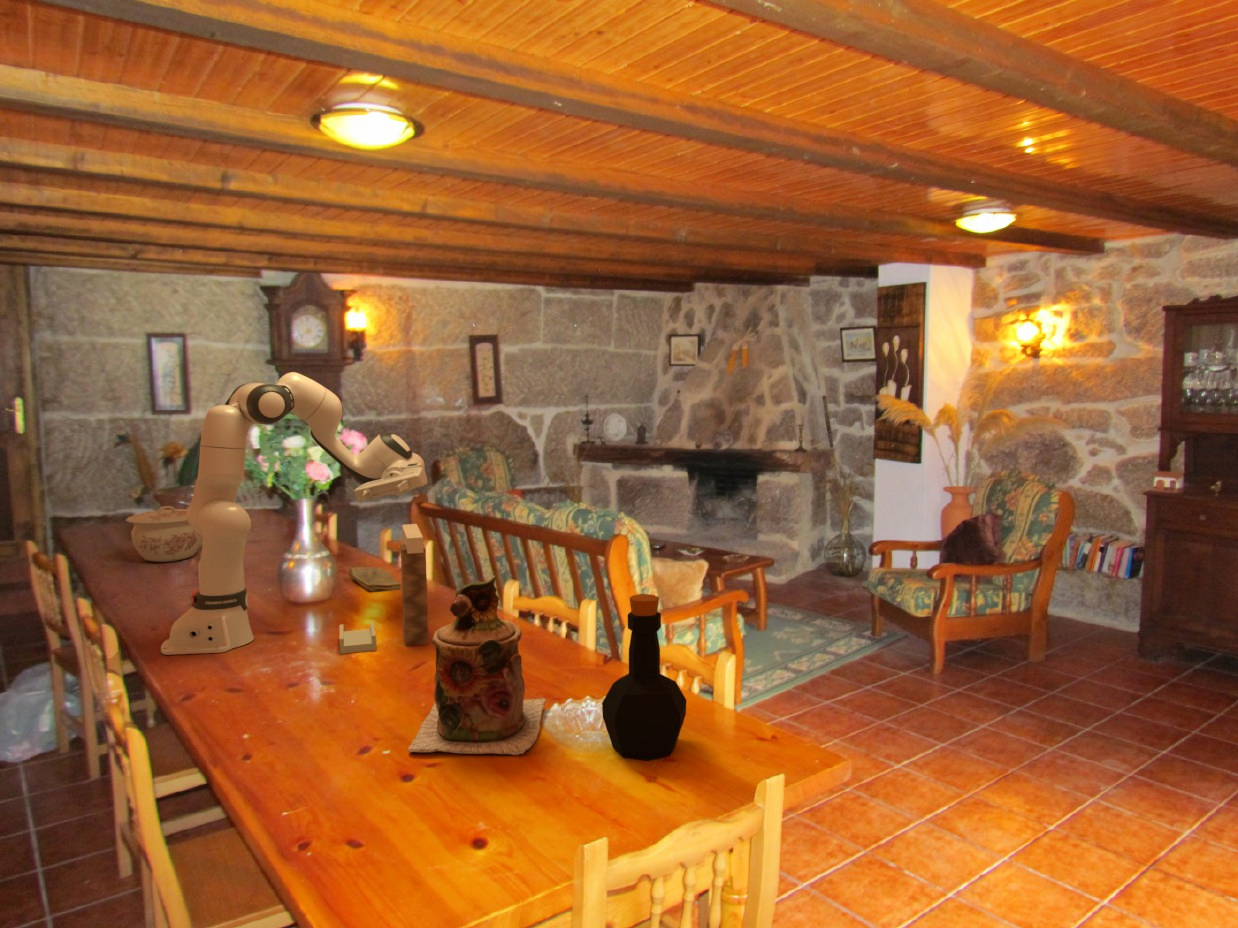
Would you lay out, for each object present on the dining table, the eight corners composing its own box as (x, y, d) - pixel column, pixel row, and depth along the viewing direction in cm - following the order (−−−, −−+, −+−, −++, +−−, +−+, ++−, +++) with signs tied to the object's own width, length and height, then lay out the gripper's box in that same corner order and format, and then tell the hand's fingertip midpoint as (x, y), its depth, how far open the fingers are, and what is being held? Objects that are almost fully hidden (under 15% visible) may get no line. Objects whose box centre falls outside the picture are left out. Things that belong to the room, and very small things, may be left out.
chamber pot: (111, 565, 323) (107, 510, 321) (161, 550, 350) (158, 499, 347) (179, 568, 318) (175, 512, 316) (225, 552, 345) (222, 500, 343)
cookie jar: (435, 706, 189) (431, 563, 186) (547, 707, 189) (545, 563, 185) (404, 757, 165) (398, 593, 161) (533, 758, 164) (530, 593, 160)
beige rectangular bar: (407, 553, 222) (407, 538, 221) (402, 538, 241) (401, 524, 240) (423, 552, 223) (423, 537, 223) (416, 537, 242) (416, 523, 242)
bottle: (600, 731, 176) (599, 587, 172) (680, 728, 177) (680, 585, 174) (604, 767, 160) (603, 609, 157) (692, 764, 161) (693, 607, 158)
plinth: (405, 646, 229) (402, 549, 226) (403, 638, 236) (400, 544, 233) (428, 643, 231) (425, 548, 228) (426, 636, 238) (423, 543, 235)
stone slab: (379, 563, 313) (403, 577, 287) (379, 574, 314) (403, 589, 288) (344, 567, 307) (365, 582, 281) (344, 578, 307) (366, 594, 282)
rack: (340, 653, 223) (339, 638, 223) (340, 638, 236) (339, 624, 235) (376, 650, 226) (375, 635, 226) (374, 635, 238) (373, 621, 238)
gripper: (361, 477, 253) (343, 491, 240) (426, 461, 250) (411, 474, 237) (368, 497, 255) (350, 512, 241) (433, 481, 252) (418, 495, 239)
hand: (381, 493), depth 239 cm, fingers open, 8 cm apart
